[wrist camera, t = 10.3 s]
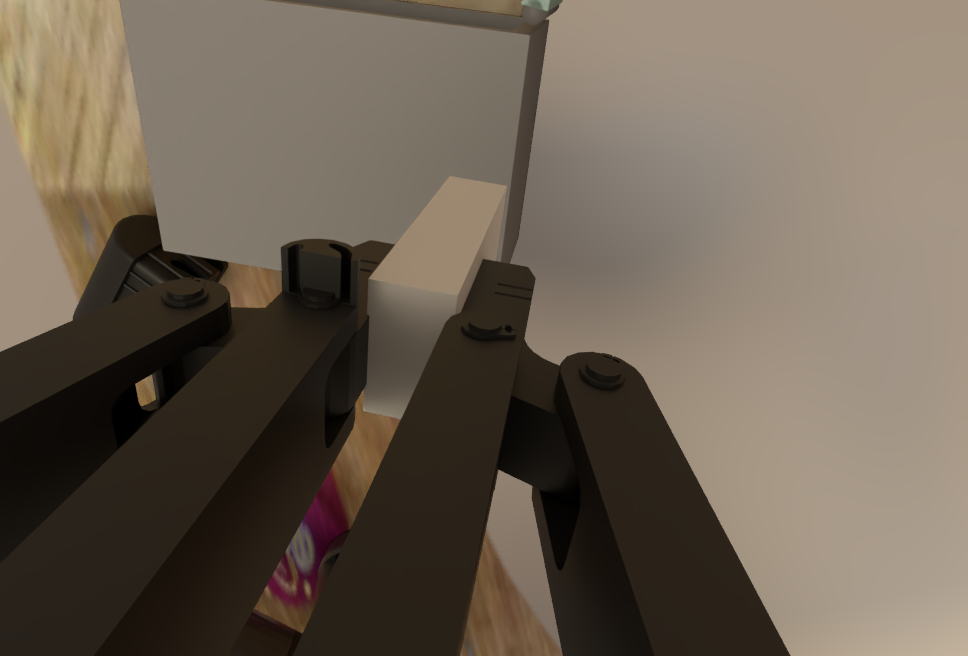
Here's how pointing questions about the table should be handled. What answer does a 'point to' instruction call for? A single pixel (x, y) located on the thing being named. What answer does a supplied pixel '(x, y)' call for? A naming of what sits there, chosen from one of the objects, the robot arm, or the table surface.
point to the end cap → (139, 265)
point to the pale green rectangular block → (538, 10)
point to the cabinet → (325, 117)
